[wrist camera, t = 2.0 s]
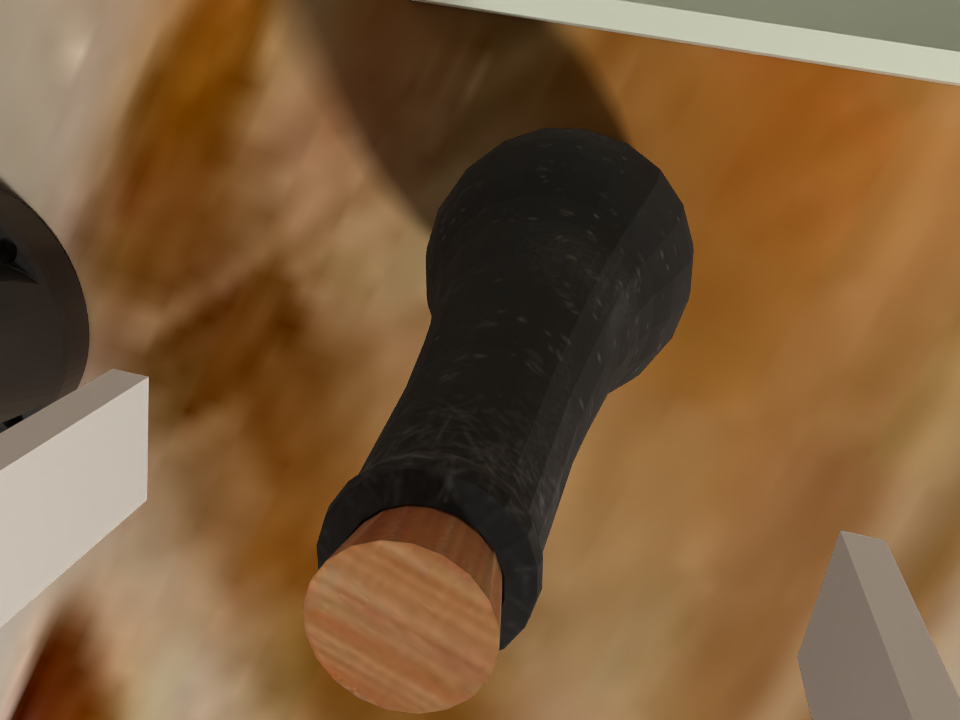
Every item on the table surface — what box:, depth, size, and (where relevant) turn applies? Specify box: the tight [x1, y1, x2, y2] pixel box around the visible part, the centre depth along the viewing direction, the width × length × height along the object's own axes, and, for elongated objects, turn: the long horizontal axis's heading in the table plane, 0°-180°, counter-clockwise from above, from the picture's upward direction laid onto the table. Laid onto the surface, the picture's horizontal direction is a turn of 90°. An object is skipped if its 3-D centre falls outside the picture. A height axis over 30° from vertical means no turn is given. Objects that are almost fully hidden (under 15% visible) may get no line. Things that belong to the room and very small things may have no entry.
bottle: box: [303, 128, 694, 714], centre depth 27 cm, size 11×11×30 cm
